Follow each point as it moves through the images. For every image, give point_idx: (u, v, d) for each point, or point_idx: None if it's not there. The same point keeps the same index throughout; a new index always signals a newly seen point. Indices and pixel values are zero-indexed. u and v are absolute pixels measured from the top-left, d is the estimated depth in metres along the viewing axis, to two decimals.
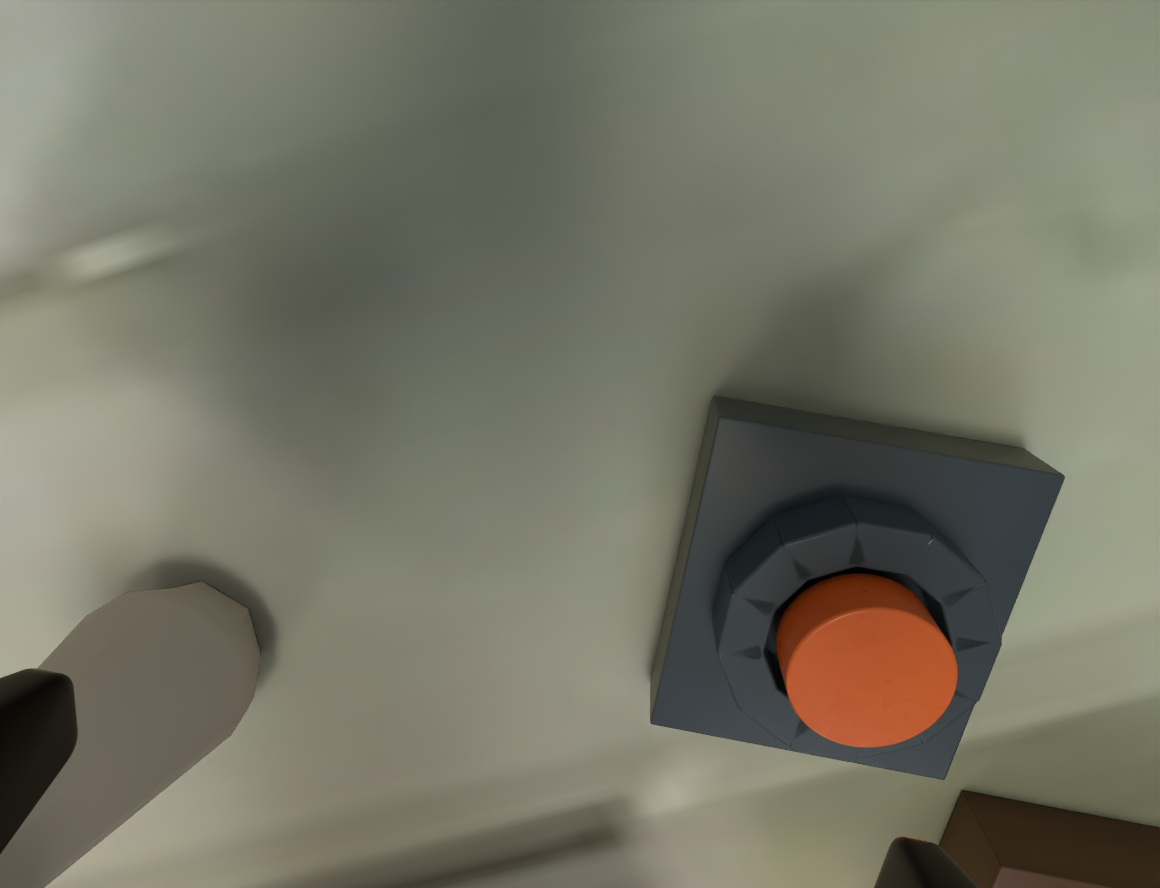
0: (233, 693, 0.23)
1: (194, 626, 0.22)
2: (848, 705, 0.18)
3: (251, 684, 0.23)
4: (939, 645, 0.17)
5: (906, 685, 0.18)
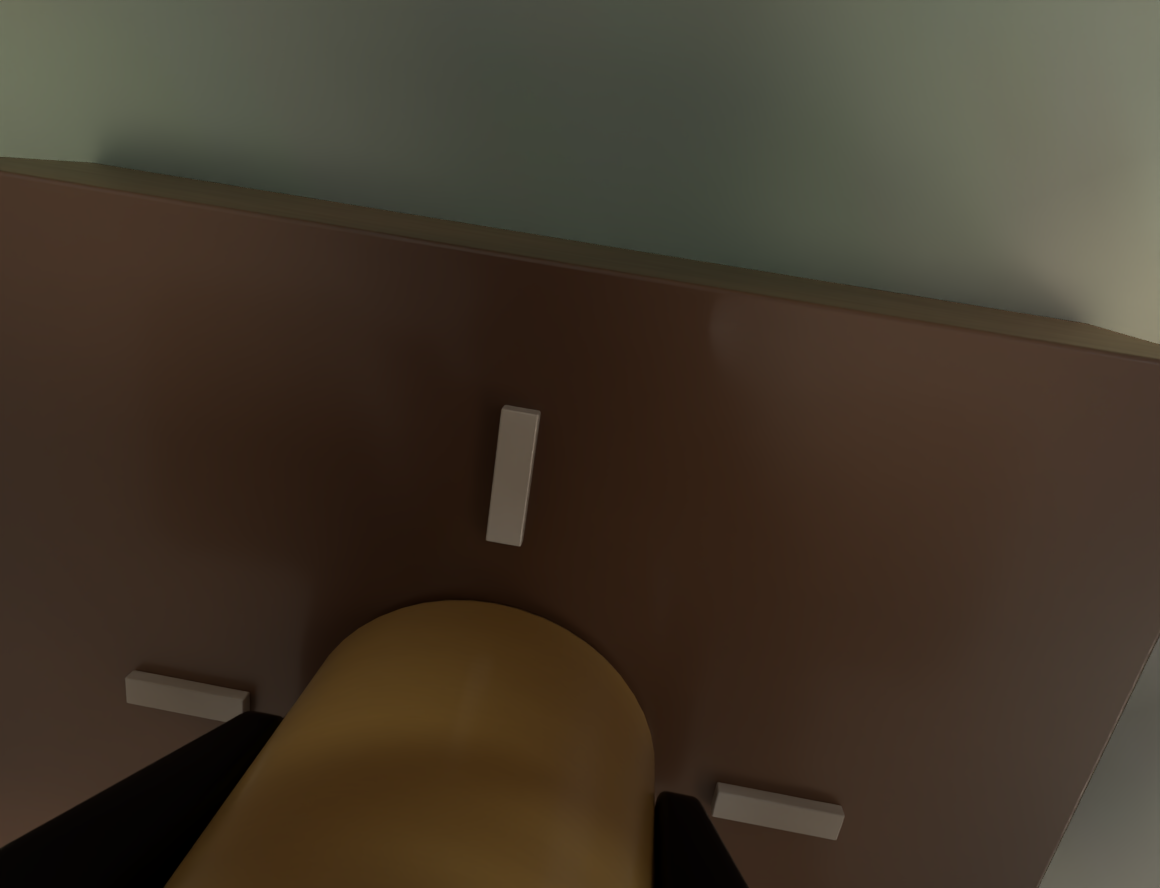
0: None
1: None
2: None
3: None
4: None
5: None
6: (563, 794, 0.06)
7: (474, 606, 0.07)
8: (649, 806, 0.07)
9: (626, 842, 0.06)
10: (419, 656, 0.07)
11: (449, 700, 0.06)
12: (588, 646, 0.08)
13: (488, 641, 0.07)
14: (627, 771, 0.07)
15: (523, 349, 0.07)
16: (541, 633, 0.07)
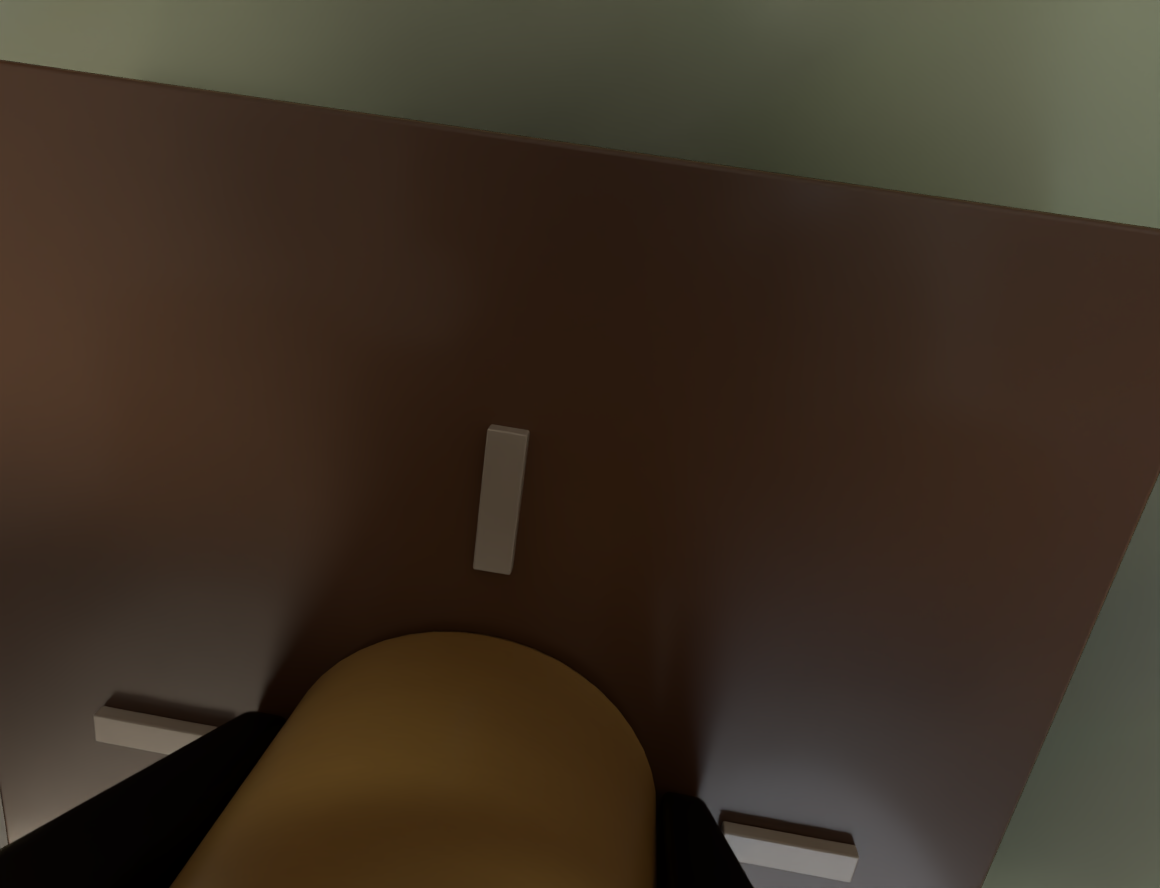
0: None
1: None
2: None
3: None
4: None
5: None
6: (553, 853, 0.05)
7: (460, 638, 0.07)
8: (650, 854, 0.06)
9: None
10: (400, 696, 0.06)
11: (429, 749, 0.06)
12: (583, 680, 0.07)
13: (474, 678, 0.06)
14: (625, 819, 0.06)
15: (906, 862, 0.08)
16: (532, 667, 0.07)
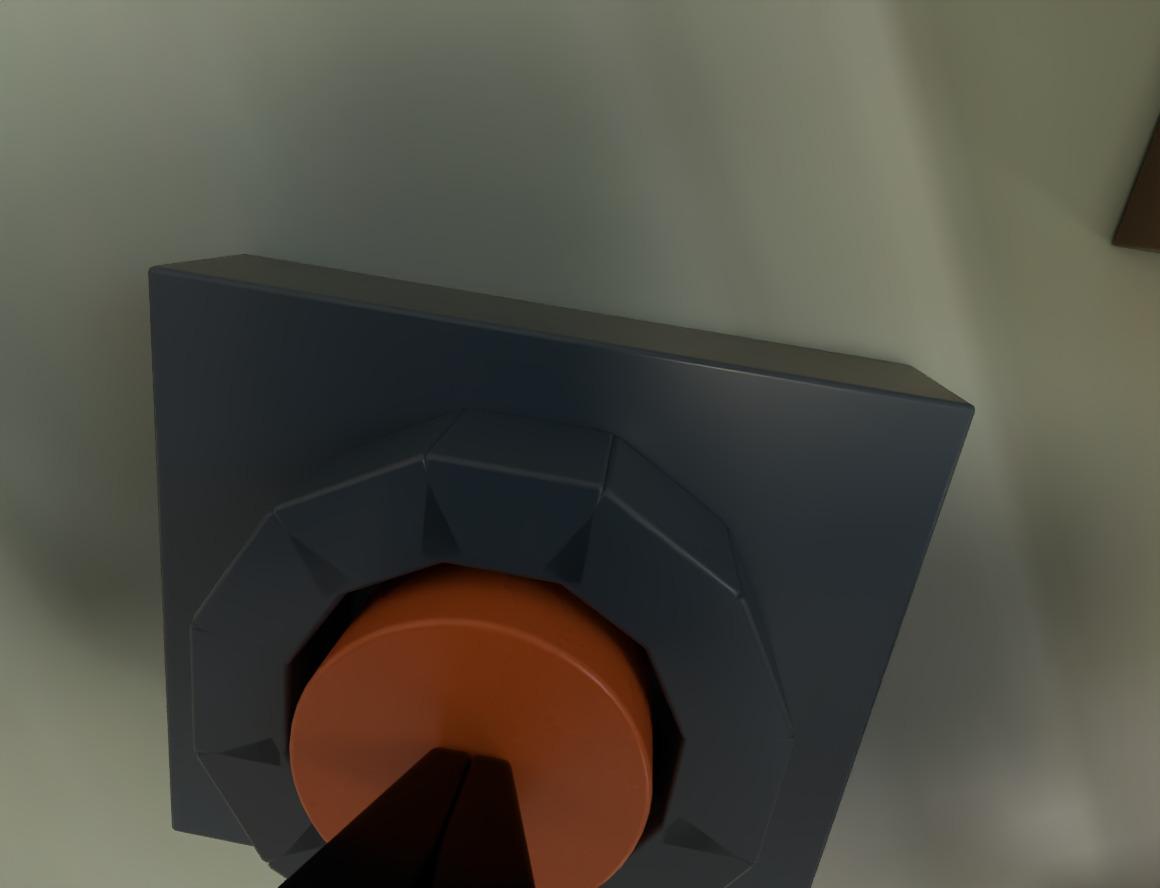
0: None
1: None
2: (533, 821, 0.08)
3: None
4: (355, 665, 0.08)
5: (467, 720, 0.08)
6: None
7: None
8: None
9: None
10: None
11: None
12: None
13: None
14: None
15: None
16: None
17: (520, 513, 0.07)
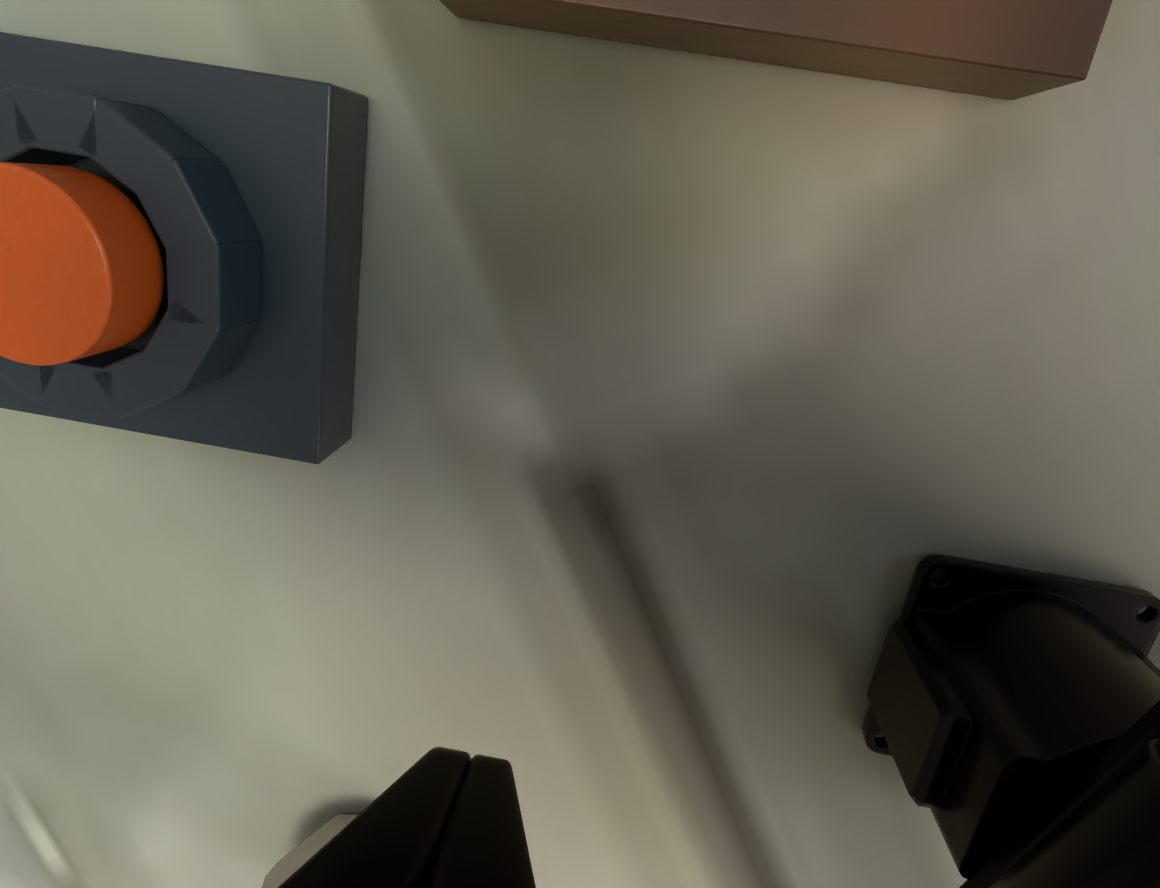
0: None
1: (267, 883, 0.23)
2: (53, 291, 0.15)
3: None
4: None
5: (7, 225, 0.14)
6: None
7: None
8: None
9: None
10: None
11: None
12: None
13: None
14: None
15: None
16: None
17: (60, 115, 0.15)
